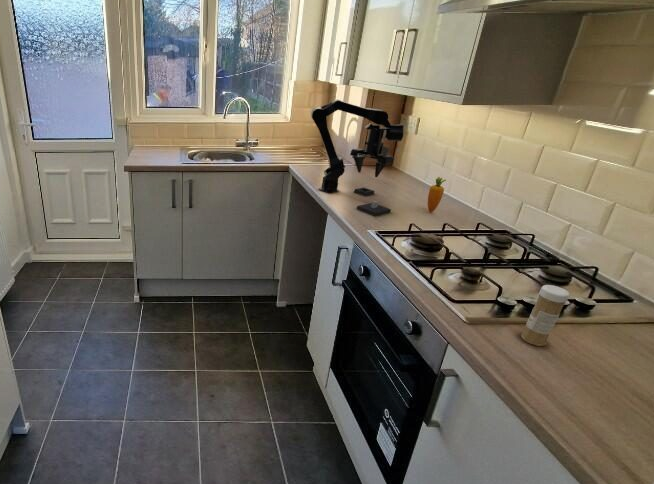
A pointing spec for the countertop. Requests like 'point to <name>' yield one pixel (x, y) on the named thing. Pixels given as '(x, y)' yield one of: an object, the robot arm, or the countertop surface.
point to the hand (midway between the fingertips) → (367, 174)
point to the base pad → (373, 208)
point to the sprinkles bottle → (544, 314)
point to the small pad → (364, 191)
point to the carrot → (435, 195)
